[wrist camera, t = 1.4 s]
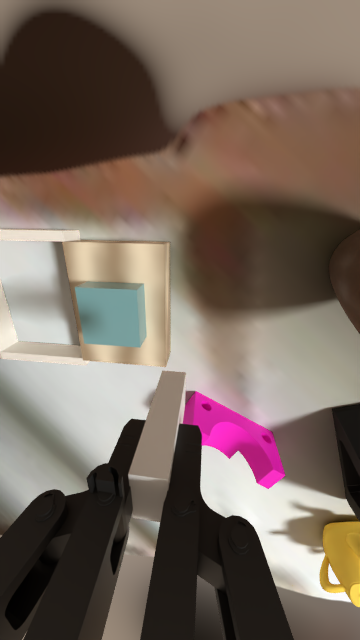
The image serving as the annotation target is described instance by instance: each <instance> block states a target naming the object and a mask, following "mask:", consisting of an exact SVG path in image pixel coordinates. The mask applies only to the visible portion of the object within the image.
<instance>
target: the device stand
mask: <svg viewBox="0 0 360 640" xmlns="http://www.w3.org/2000/svg"><path fill="white" fill-rule="evenodd" d="M332 412H333V418H334V425H335V431H336V437H337V443H338V450H339V456H340V462H341V468H342V475H343V481H344V487H345V494H346V499H347V501H348V503H349V505H350V507H351V508H352V510H353V512H354V513H355V515H356V516H357V518H358V520H359V521H360V405H354V406H348V407H342V408H336V409H332Z"/></svg>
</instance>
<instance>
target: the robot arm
mask: <svg viewBox="0 0 360 640" xmlns="http://www.w3.org/2000/svg"><path fill="white" fill-rule="evenodd" d="M185 389H186V373H185V372H173V371H162V373H161V377H160V380H159V383H158V386H157V389H156V392H155V395H154V398H153V401H152V404H151V407H150V410H149V413H148V416H147V419H146V420H138V419H131V420H130V421H129V422H128V423H127V424H126V425H125V426H124V428H123V430H122V432H121V435H120V437H119V439H118V442H117V445H116V446H115V449H114V451H113V453H112V456H111V458H110V460H109V463H106V464H102V465H100V466H97V467H96V468H95V469H94V470H92V471H91V472H90V474H89V475H88V477H87V483H88V487H89V490H87V491H84V492H81V493H77V494H72V495H68V496H65V495H64V494H63V493H62V492H61V491H60V490H55V489H53V490H49V491H46V492H44V493H42V494H40V495H39V496H38V497H37V498H35V499H34V500H33V501H32V502H31V503H30V505H29V506H28V507H27V508H26V509H25V510H24V511H23V513H22V514H21V515H20V516H19V517H18V518H17V519H16V521H15V522H14V523H13V524H12V525H11V526H10V527H9V529H8V530H7V531H6V532H5V533H4V534H3V535H2V537H1V538H0V640H22V638H23V637H24V635H25V633H26V632H27V633H26V635H25V637H24V639H23V640H101V639H102V636H103V632H104V628H105V624H106V620H107V617H108V612H109V609H110V605H111V601H112V597H113V594H114V590H115V586H116V582H117V578H118V574H119V571H120V567H121V563H122V559H123V555H124V551H125V548H126V544H127V540H128V535H129V522H130V518H131V514H132V513H133V518H138V519H144V520H150V521H157V522H160V527H159V533H158V539H157V545H156V551H155V557H154V562H153V568H152V575H151V580H150V586H149V592H148V598H147V603H146V609H145V616H144V621H143V627H142V633H141V639H140V640H194V638H195V613H196V587H197V575H199V576H200V577H201V578H203V579H204V580H206V581H207V582H208V583H210V584H211V585H213V586H214V587H215V592H216V599H217V604H218V610H219V615H220V622H221V627H222V633H223V639H224V640H294V639H293V636H292V633H291V630H290V627H289V624H288V621H287V618H286V615H285V613H284V610H283V607H282V604H281V601H280V598H279V595H278V592H277V589H276V586H275V583H274V581H273V578H272V575H271V572H270V569H269V566H268V563H267V560H266V557H265V554H264V551H263V549H262V546H261V543H260V540H259V537H258V535H257V533H256V531H255V529H254V527H253V526H252V525H251V524H250V523H249V522H248V521H247V520H246V519H244V518H242V517H240V516H233V515H232V516H230V517H227V518H225V517H223V516H221V515H220V514H218V513H216V512H214V511H213V510H212V509H210V508H209V507H208V506H207V505H206V503H205V502H204V500H203V498H202V495H201V492H200V476H201V449H202V433H201V431H200V428H199V426H198V425H189V424H183V417H184V410H185Z"/></svg>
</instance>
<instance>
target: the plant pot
mask: <svg viewBox="0 0 360 640" xmlns="http://www.w3.org/2000/svg"><path fill="white" fill-rule="evenodd" d="M329 276H330V280H331V283H332V286H333V289H334V291H335V294H336V296H337V298H338V300H339V302H340V304H341V306H342V308H343V310H344V311H345V313H346V315H347V316H348V318H349V319H350V321H351V322H352V324H353V325H354V327H355V328H356V329H357V331H358V332H359V334H360V230H358V231H356V232H355V233H353V234H352V235H350V236H349V237H347V238H346V239H345V240H343V241H342V242H341V243H340V244H339V245H338V247H337V248H336V249H335V251H334V252H333V254H332V256H331V259H330V262H329Z"/></svg>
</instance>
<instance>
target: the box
mask: <svg viewBox="0 0 360 640" xmlns="http://www.w3.org/2000/svg"><path fill="white" fill-rule="evenodd" d="M0 240H14V241H60V242H66V241H76V240H80V235H79V230H30V229H0ZM0 359H12V360H24V361H36V362H49V363H61V364H73V365H85V366H86V365H87V364H88V363H89V362H90V361H84V360H83V358H82V352H81V346H78V345H64V344H51V343H37V342H23V341H18V338H17V335H16V331H15V328H14V324H13V321H12V317H11V314H10V311H9V307H8V304H7V300H6V297H5V294H4V290H3V287H2V283H1V280H0Z"/></svg>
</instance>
